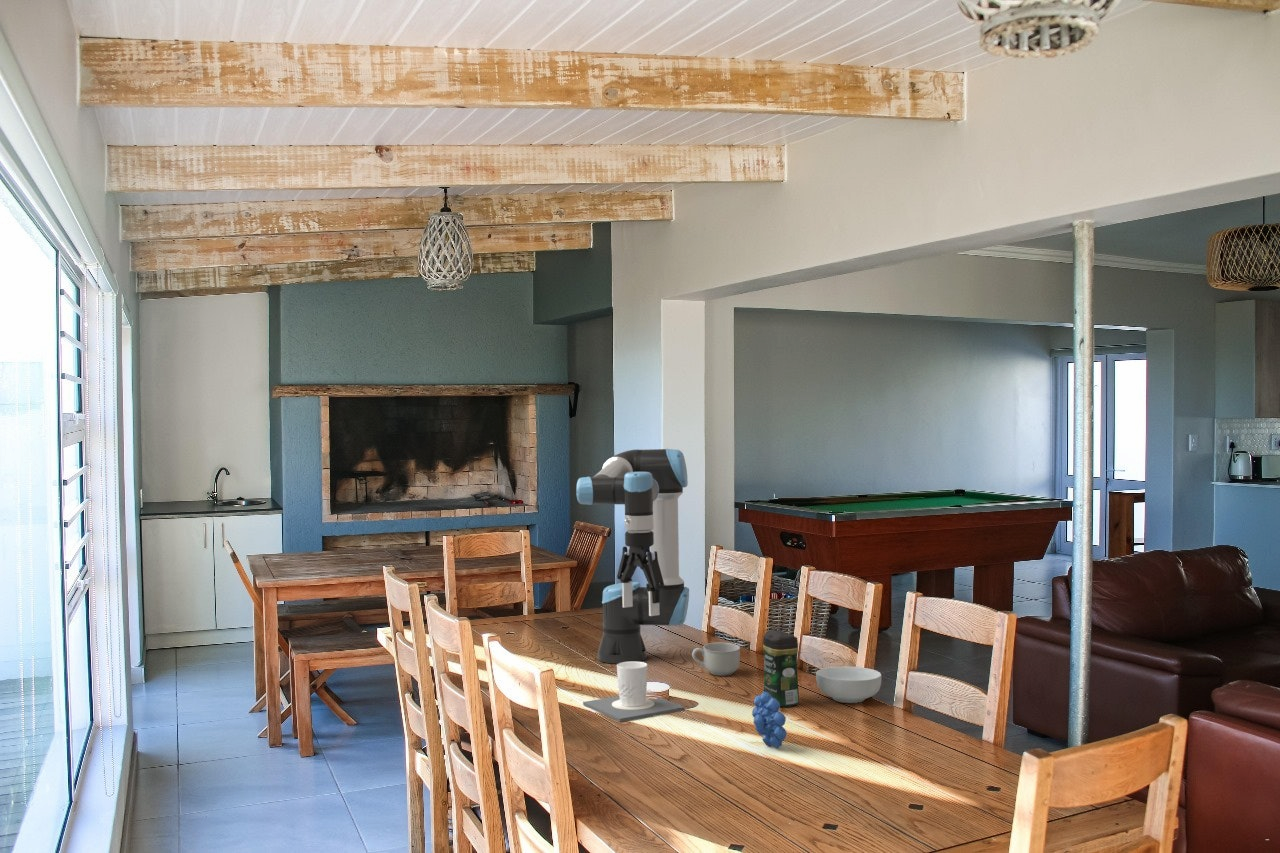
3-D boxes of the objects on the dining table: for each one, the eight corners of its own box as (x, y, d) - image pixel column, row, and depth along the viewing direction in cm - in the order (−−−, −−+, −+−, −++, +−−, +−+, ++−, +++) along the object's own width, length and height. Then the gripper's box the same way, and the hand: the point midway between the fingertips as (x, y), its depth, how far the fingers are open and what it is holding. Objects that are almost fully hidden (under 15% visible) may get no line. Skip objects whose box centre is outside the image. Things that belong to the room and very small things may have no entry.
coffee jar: (759, 700, 284) (758, 629, 283) (786, 697, 286) (785, 627, 286) (775, 709, 275) (774, 636, 274) (803, 706, 277) (802, 633, 277)
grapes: (739, 742, 247) (738, 690, 247) (763, 737, 251) (762, 686, 250) (768, 755, 237) (767, 701, 237) (793, 751, 240) (792, 697, 240)
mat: (583, 705, 281) (583, 701, 281) (645, 694, 291) (645, 690, 291) (619, 722, 265) (619, 718, 265) (684, 710, 275) (684, 706, 275)
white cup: (616, 699, 282) (616, 661, 282) (646, 699, 282) (646, 660, 282) (617, 708, 274) (617, 668, 274) (648, 707, 275) (648, 667, 275)
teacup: (740, 669, 318) (740, 642, 318) (740, 678, 308) (740, 650, 308) (693, 668, 320) (693, 641, 320) (691, 677, 309) (691, 649, 309)
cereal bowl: (893, 698, 284) (893, 671, 284) (860, 711, 271) (859, 683, 271) (838, 688, 295) (838, 662, 295) (803, 700, 283) (803, 673, 283)
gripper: (603, 527, 293) (605, 605, 293) (652, 536, 271) (653, 620, 272) (627, 525, 297) (629, 602, 297) (677, 534, 275) (678, 617, 276)
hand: (640, 611), depth 285 cm, fingers open, 13 cm apart
